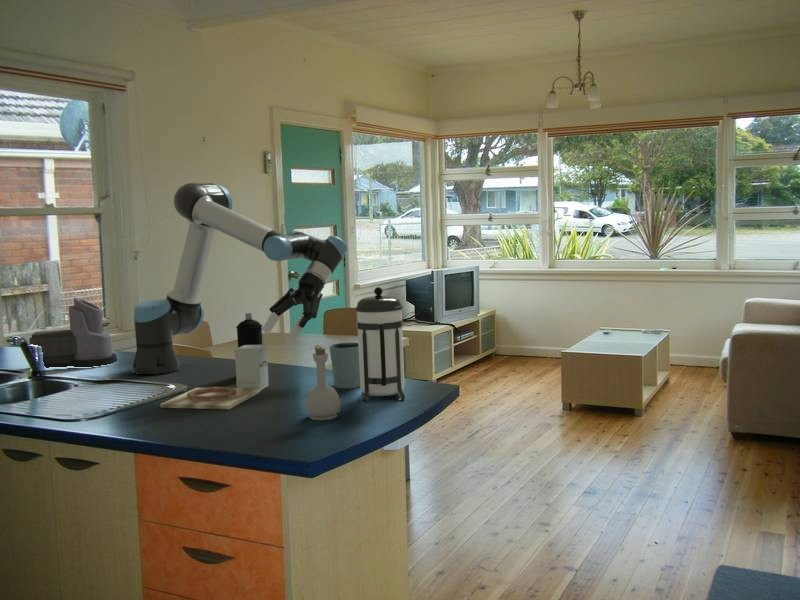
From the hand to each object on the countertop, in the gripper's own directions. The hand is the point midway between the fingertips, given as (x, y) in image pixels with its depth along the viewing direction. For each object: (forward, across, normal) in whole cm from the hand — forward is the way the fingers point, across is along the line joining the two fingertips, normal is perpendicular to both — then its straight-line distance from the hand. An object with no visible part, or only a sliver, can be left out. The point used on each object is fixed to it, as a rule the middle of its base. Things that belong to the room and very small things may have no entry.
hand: (278, 333), depth 240 cm
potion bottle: (+25, -42, +3) cm, 49 cm away
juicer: (+28, +88, +6) cm, 92 cm away
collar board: (+28, -2, +7) cm, 29 cm away
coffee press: (+8, -40, -14) cm, 43 cm away
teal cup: (+4, -20, -18) cm, 27 cm away
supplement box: (+18, 0, -4) cm, 18 cm away
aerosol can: (+10, +18, -12) cm, 23 cm away
